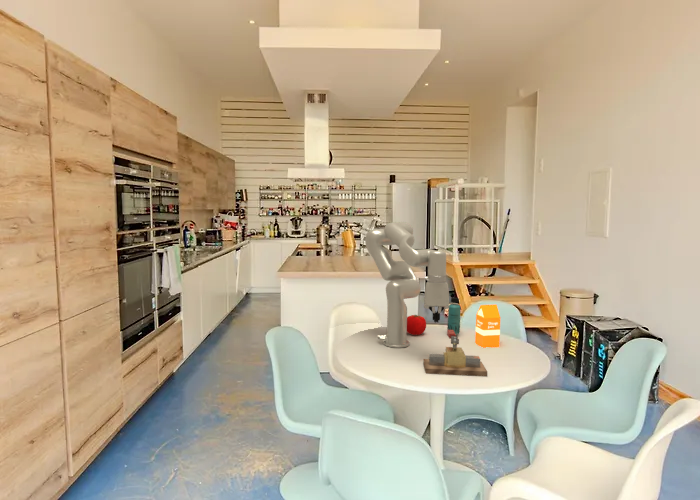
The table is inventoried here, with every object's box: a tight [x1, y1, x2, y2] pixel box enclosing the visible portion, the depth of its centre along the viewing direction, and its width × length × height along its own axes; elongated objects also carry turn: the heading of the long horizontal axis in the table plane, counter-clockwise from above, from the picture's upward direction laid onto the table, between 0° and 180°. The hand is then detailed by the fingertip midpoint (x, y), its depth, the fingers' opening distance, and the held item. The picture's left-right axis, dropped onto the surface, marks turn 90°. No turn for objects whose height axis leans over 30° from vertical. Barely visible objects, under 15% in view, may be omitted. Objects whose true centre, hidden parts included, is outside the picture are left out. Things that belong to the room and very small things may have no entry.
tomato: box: [407, 314, 427, 336], centre depth 233 cm, size 12×12×10 cm
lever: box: [446, 329, 460, 346], centre depth 186 cm, size 3×16×3 cm, turn 175°
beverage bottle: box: [446, 297, 462, 335], centre depth 230 cm, size 6×7×20 cm
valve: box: [428, 344, 481, 368], centre depth 180 cm, size 20×6×9 cm, turn 85°
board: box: [422, 358, 488, 377], centre depth 180 cm, size 24×12×2 cm, turn 85°
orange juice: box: [474, 304, 502, 349], centre depth 214 cm, size 8×9×20 cm
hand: (436, 321), depth 190 cm, fingers closed
